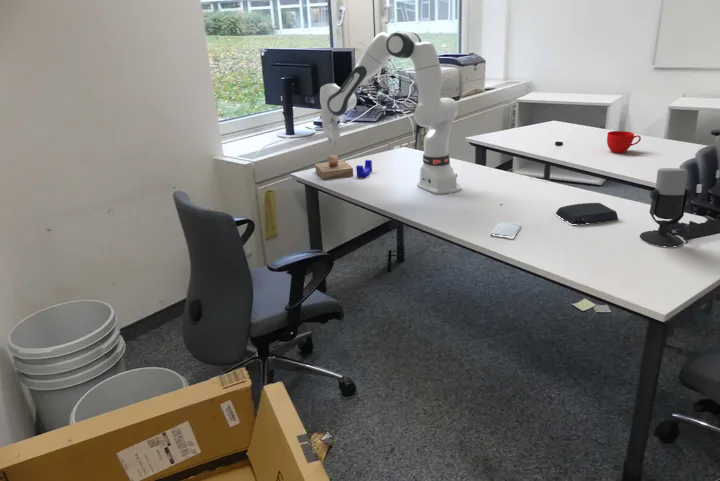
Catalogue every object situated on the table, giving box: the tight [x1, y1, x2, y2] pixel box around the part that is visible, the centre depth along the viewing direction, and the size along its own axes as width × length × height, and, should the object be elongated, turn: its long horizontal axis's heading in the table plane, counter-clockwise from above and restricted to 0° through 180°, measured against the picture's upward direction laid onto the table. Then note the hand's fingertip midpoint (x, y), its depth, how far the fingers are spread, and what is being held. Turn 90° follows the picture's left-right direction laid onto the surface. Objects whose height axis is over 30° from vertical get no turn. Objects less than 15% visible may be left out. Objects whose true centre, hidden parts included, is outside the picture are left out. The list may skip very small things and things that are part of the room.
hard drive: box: [490, 221, 522, 237], centre depth 187 cm, size 2×8×12 cm
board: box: [314, 160, 354, 180], centre depth 264 cm, size 16×16×4 cm
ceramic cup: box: [606, 130, 642, 154], centre depth 275 cm, size 13×17×10 cm
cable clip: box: [355, 159, 373, 179], centre depth 260 cm, size 12×4×6 cm, turn 154°
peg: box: [328, 154, 339, 167], centre depth 262 cm, size 5×5×8 cm
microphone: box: [639, 167, 693, 247], centre depth 169 cm, size 13×13×25 cm
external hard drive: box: [555, 202, 619, 225], centre depth 195 cm, size 13×19×4 cm
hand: (332, 144), depth 258 cm, fingers open, 5 cm apart
